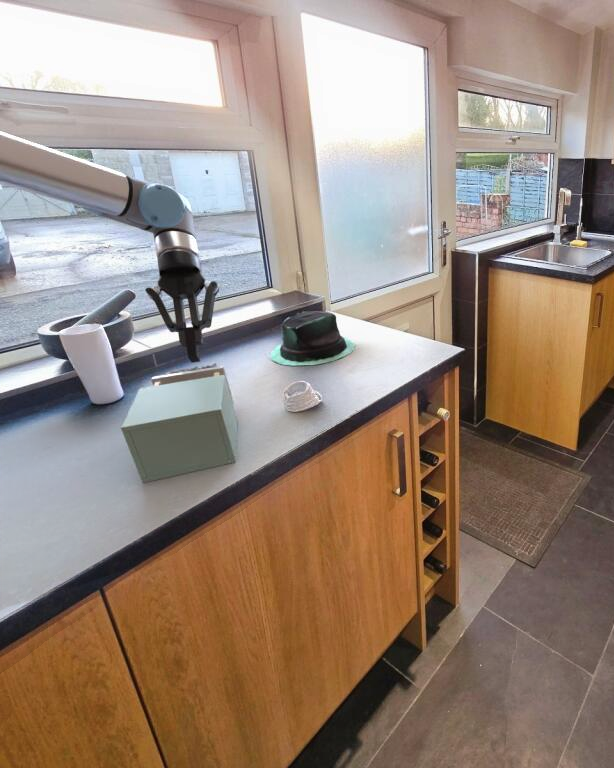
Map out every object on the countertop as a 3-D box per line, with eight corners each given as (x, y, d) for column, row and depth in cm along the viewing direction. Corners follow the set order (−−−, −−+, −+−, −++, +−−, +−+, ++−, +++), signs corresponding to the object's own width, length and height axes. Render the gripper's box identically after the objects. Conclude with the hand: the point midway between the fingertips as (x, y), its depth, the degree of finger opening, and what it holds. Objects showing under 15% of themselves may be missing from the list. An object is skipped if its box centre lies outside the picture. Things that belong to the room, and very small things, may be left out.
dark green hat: (324, 367, 112) (248, 362, 116) (365, 374, 130) (298, 370, 134) (330, 301, 113) (254, 299, 117) (370, 318, 131) (303, 316, 135)
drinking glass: (125, 389, 104) (100, 321, 98) (132, 399, 100) (105, 328, 94) (85, 399, 100) (55, 329, 94) (90, 410, 96) (59, 337, 89)
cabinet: (157, 437, 86) (139, 388, 82) (237, 421, 91) (224, 374, 87) (142, 483, 74) (120, 427, 70) (236, 462, 79) (220, 409, 75)
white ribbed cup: (330, 406, 99) (329, 383, 97) (303, 418, 93) (301, 394, 91) (302, 395, 102) (300, 373, 100) (274, 406, 96) (271, 383, 94)
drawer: (168, 405, 96) (155, 368, 92) (234, 393, 100) (224, 357, 97) (154, 450, 81) (138, 408, 78) (231, 434, 86) (220, 393, 82)
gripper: (217, 266, 110) (234, 361, 104) (148, 272, 105) (161, 372, 99) (209, 245, 104) (227, 345, 97) (135, 251, 99) (148, 357, 92)
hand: (194, 359), depth 98 cm, fingers closed
